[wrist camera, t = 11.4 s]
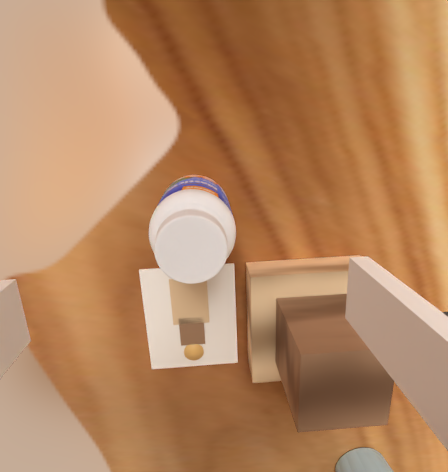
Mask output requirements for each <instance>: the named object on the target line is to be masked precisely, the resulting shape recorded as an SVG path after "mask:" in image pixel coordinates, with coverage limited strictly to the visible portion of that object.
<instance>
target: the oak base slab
mask: <svg viewBox="0 0 448 472" xmlns="http://www.w3.org/2000/svg"><path fill="white" fill-rule="evenodd" d="M350 257H362V256H361V255H353V256H338V257H322V258H307V259H291V260H276V261H260V262H246V294H247V336H248V362H249V367H250V372H251V377H252V382H253V383H261V382H273V381H281V378H280V375H279V372H278V368H277V365H276V362H275V352H276V298H288V297H303V296H319V295H334V294H347V285H348V271H349V258H350Z"/></svg>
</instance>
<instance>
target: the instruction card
mask: <svg viewBox="0 0 448 472" xmlns="http://www.w3.org/2000/svg"><path fill="white" fill-rule="evenodd" d="M139 275H140V283H141V290H142V298H143V306H144V313H145V321H146V329H147V336H148V344H149V352H150V359H151V367H152V369H163V368H176V367H189V366H201V365H214V364H227V363H238V355H237V326H236V298H235V270H234V263H229V264H224V266H223V268H222V269H221V270H220V271H219V272H218V274H216V275H215V276H214V277H212V278H211V279H209V280H207V281H204V282H201V283H196V284H186V283H181V282H178V281H175V280H173V279H171V278H170V277H168V276H167V275H166V274H165V273H164V272H163V271H162V270H161V269H160V268H151V269H139Z"/></svg>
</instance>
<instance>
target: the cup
mask: <svg viewBox="0 0 448 472" xmlns="http://www.w3.org/2000/svg"><path fill="white" fill-rule="evenodd" d="M335 472H393V470H392V469H391V467H390V466H389V464H388V463H387V462H386V460H385V459H384V457H383V456H382V455H381V453H379V452H378V451H376V450H374V449H372V448H357V449H353V450H351V451H349V452H347V453H345V454H344V455H343V456H342V457H341V458H340V459H339V460H338V462H337V464H336V468H335Z"/></svg>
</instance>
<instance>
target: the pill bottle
mask: <svg viewBox="0 0 448 472" xmlns="http://www.w3.org/2000/svg"><path fill="white" fill-rule="evenodd" d="M235 239H236V225H235V221H234V217H233V214H232V211H231V208H230V205H229V202H228V199H227V196H226V194H225V192H224V190H223V189H222V188H221V186H220V185H219V184H217V183H216V182H215V181H214V180H212V179H210V178H208V177H205V176H201V175H188V176H184V177H181V178H179V179H177V180H176V181H174V182H173V183H172V184H171V185H170V186H169V187H168V188H167V189H166V191H165V192H164V194H163V196H162V198H161V200H160V202H159V204H158V205H157V207H156V209H155V210H154V213H153V215H152V217H151V220H150V224H149V241H150V245H151V248H152V250H153V252H154V254H155V258H156V261H157V264H158V265H159V267H160V269H161V270H162V271H163V272H164V273H165V274H166V275H167V276H168V277H170V278H171V279H173V280H175V281H178V282H181V283H186V284H196V283H201V282H204V281H207V280H209V279H211V278H212V277H214V276H215V275H216V274H218V272H219V271H220V270H221V269H222V268H223V266H224V264H225V262H226V259H227V258H228V257H229V255H230V253H231V252H232V250H233V247H234V244H235Z"/></svg>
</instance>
